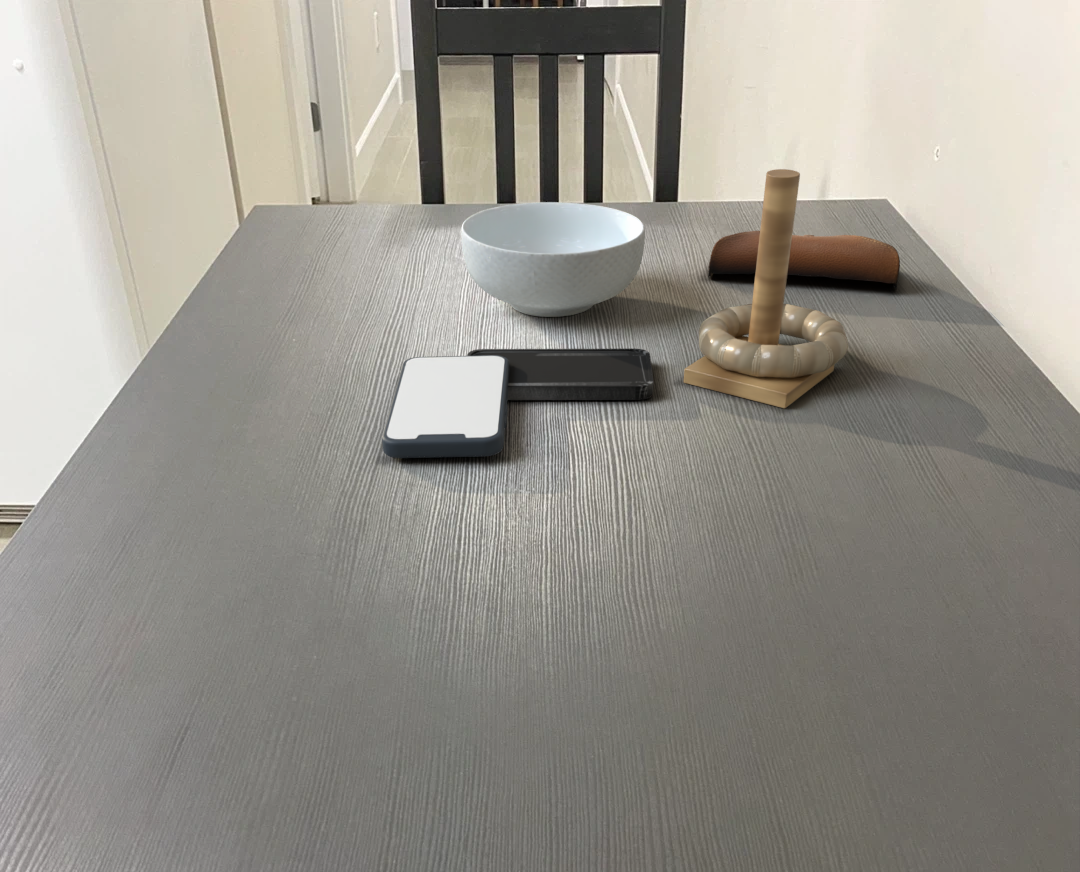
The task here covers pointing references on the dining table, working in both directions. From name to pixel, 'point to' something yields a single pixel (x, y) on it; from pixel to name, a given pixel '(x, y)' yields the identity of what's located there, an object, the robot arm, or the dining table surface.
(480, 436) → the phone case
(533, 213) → the cereal bowl
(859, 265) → the sunglasses case
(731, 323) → the ring
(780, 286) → the peg stand
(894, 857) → the dining table surface
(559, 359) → the phone
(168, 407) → the dining table surface
